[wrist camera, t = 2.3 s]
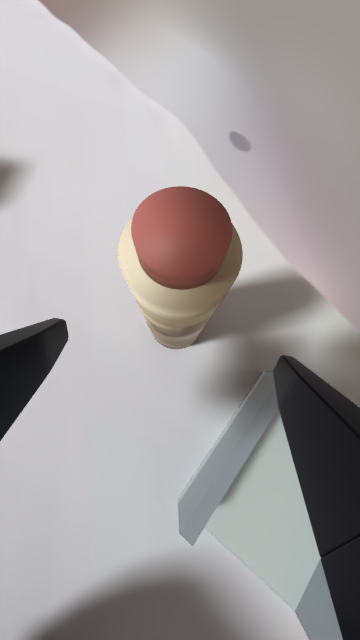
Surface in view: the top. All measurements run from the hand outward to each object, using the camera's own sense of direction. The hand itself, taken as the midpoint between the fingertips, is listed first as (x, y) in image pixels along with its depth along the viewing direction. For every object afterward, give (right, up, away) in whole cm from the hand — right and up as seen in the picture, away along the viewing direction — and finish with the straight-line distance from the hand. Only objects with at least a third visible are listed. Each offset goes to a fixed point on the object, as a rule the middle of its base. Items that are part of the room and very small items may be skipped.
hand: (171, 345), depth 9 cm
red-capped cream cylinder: (0, +1, +11) cm, 11 cm away
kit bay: (+8, -11, +8) cm, 16 cm away
